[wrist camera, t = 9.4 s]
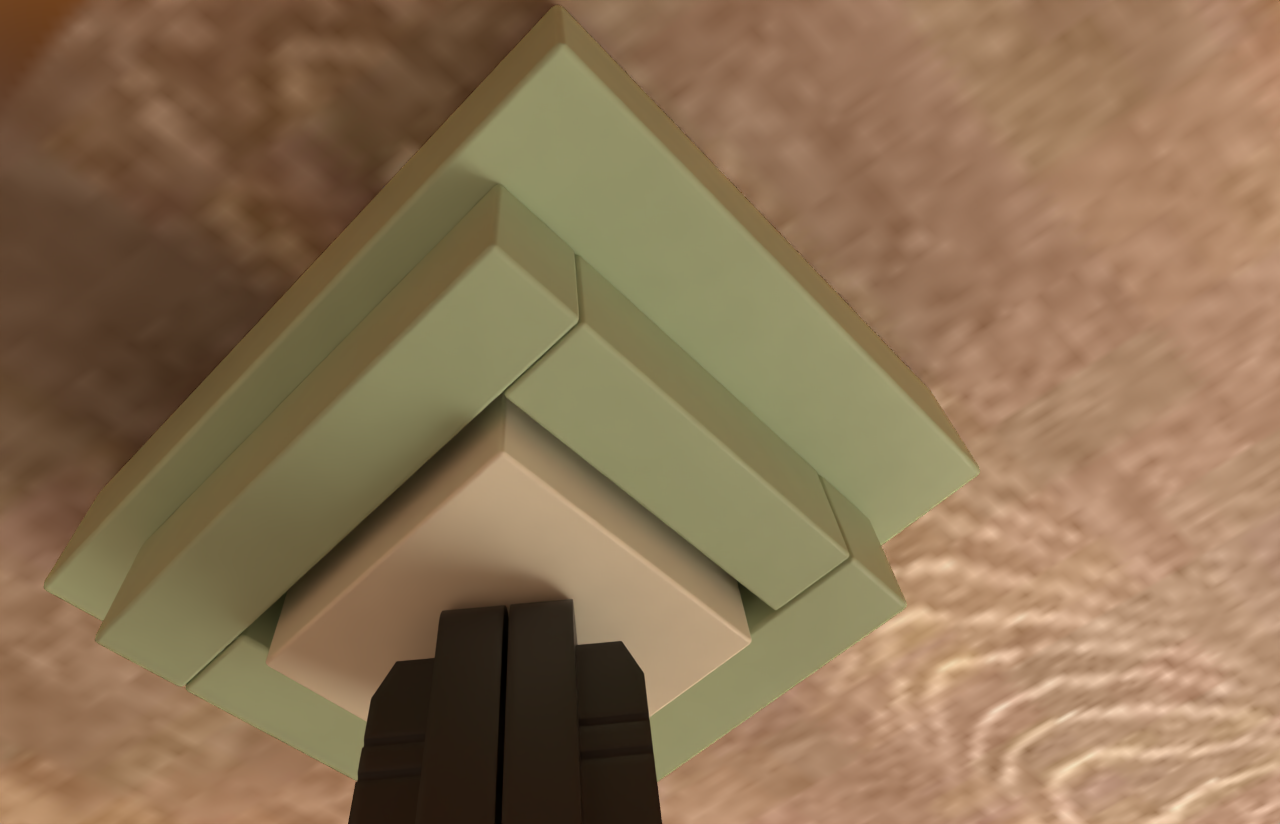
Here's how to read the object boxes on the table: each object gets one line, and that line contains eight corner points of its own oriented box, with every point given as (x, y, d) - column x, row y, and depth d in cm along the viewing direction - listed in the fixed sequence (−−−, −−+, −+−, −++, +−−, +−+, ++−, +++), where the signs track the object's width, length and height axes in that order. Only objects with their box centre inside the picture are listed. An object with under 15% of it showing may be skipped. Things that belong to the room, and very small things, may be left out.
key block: (557, -1, 12) (563, 82, 9) (932, 391, 16) (1039, 558, 12) (98, 491, 16) (-26, 691, 12) (494, 730, 19) (485, 937, 16)
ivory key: (506, 354, 12) (500, 450, 10) (727, 534, 14) (754, 643, 12) (298, 550, 13) (261, 665, 12) (524, 692, 15) (522, 811, 13)
